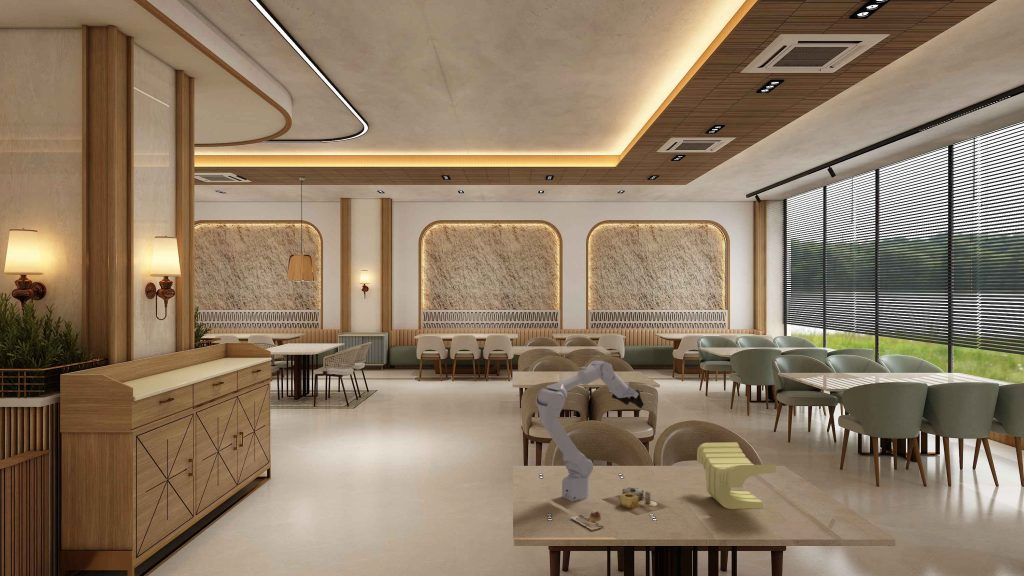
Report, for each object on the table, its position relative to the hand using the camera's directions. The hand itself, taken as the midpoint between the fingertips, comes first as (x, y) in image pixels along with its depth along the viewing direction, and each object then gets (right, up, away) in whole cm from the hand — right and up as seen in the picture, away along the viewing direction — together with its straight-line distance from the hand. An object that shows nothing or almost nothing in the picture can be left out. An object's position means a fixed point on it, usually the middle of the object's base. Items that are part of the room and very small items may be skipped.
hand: (635, 404), depth 234 cm
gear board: (-5, -32, -22) cm, 39 cm away
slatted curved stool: (+32, -32, -17) cm, 49 cm away
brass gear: (-7, -31, -24) cm, 40 cm away
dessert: (-21, -33, -36) cm, 53 cm away
